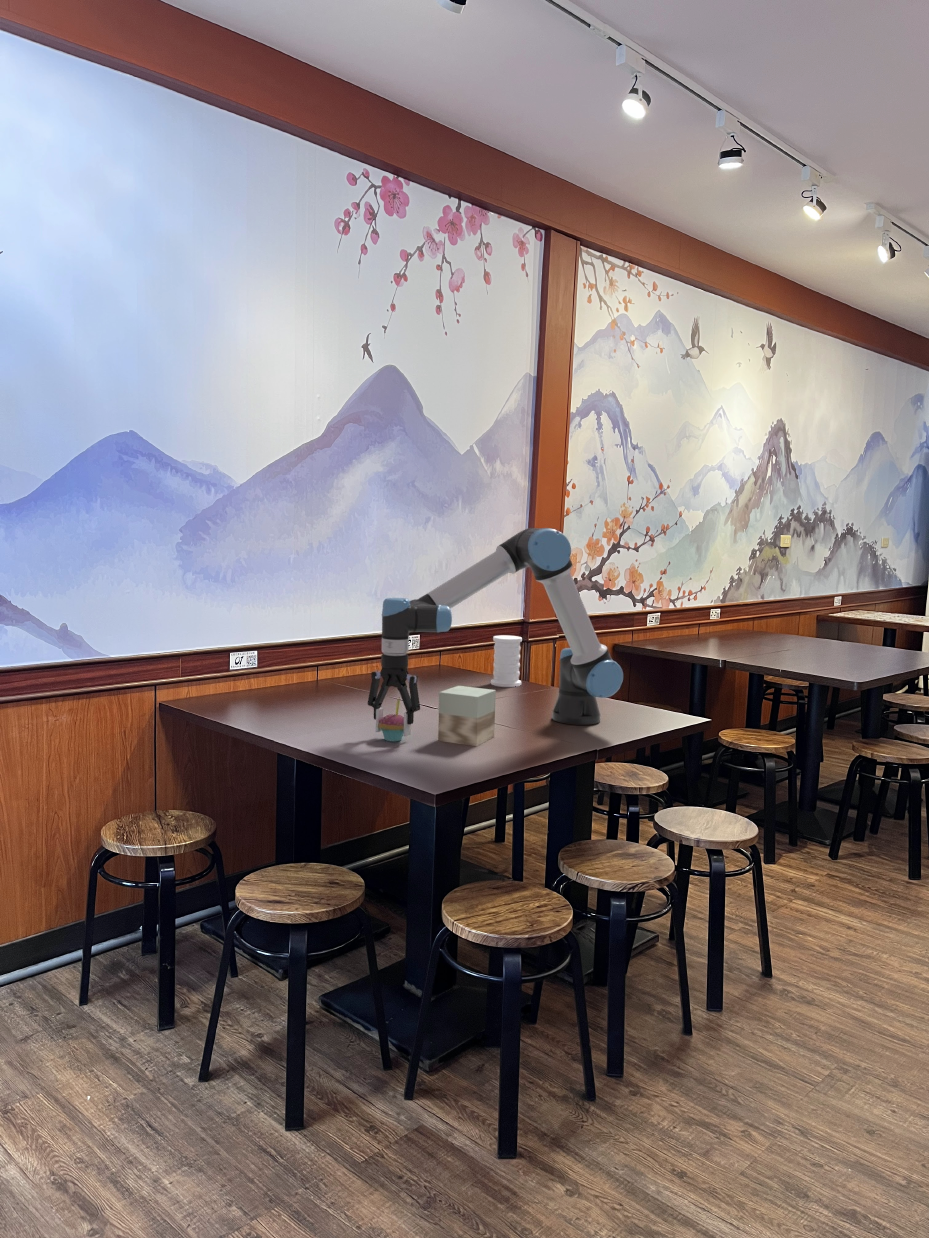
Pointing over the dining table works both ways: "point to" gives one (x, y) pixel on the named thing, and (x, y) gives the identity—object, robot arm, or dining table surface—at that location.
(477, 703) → the tower top
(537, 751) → the dining table surface
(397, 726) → the cupcake
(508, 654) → the decorative container
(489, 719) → the tower base
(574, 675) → the robot arm
